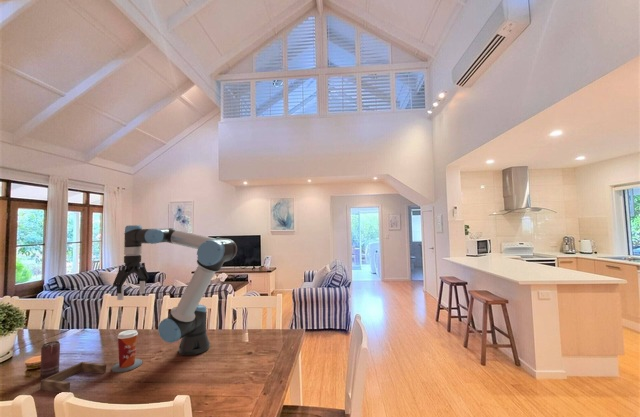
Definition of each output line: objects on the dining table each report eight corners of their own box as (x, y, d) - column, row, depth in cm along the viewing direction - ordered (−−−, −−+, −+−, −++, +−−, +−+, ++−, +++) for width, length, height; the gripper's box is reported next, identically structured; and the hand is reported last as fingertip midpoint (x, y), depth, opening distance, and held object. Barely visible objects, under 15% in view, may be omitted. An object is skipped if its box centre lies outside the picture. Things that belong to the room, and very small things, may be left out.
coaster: (148, 361, 139) (148, 359, 139) (126, 373, 127) (126, 372, 127) (127, 359, 142) (127, 357, 142) (104, 371, 130) (104, 369, 130)
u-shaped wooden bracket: (106, 372, 129) (106, 364, 129) (66, 393, 113) (66, 384, 113) (82, 369, 132) (82, 361, 132) (40, 389, 116) (40, 380, 116)
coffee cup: (126, 369, 130) (127, 336, 131) (111, 368, 131) (112, 335, 132) (141, 361, 138) (142, 329, 139) (127, 359, 139) (128, 328, 140)
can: (42, 380, 123) (44, 347, 123) (38, 376, 126) (39, 344, 127) (61, 374, 128) (62, 342, 129) (56, 370, 131) (57, 339, 132)
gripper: (145, 252, 160) (144, 290, 159) (104, 257, 136) (103, 302, 135) (156, 252, 159) (156, 291, 158) (118, 257, 135) (116, 303, 133)
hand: (131, 296), depth 146 cm, fingers open, 13 cm apart
